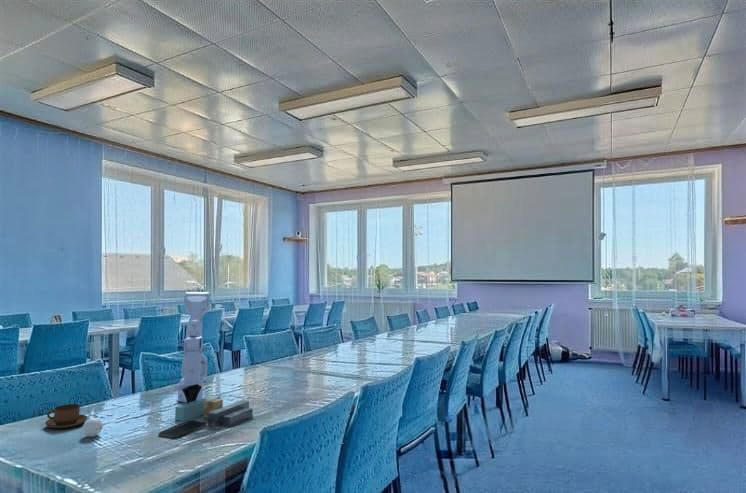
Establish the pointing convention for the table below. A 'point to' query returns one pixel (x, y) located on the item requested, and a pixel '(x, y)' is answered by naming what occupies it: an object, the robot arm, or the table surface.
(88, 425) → the white rounded piece
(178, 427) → the phone
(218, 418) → the vise
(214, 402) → the oak block
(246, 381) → the table surface
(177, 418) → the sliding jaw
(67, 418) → the cup and saucer
